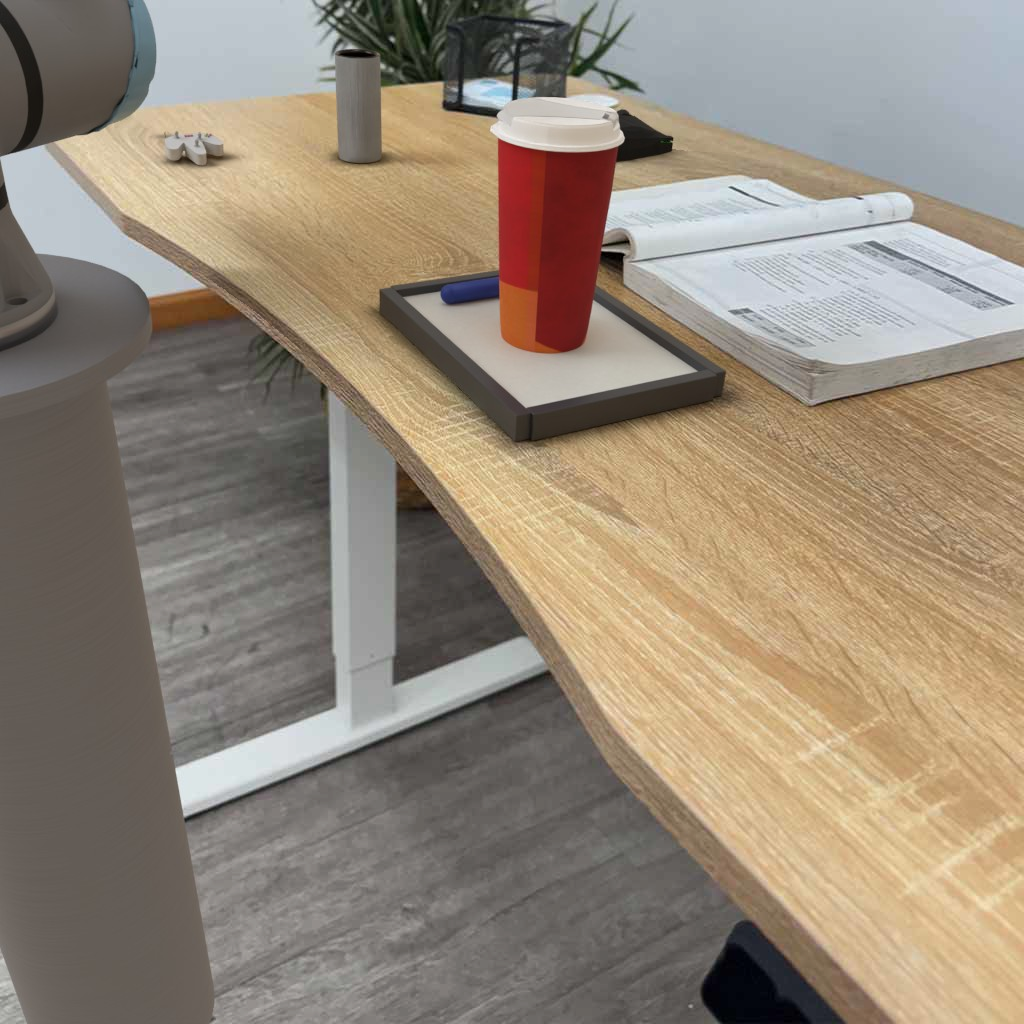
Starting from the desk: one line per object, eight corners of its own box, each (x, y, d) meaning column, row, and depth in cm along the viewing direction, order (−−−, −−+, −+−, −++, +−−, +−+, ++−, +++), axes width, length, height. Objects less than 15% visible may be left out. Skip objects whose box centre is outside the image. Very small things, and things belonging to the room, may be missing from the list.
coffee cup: (610, 320, 76) (635, 102, 68) (592, 368, 69) (616, 133, 61) (497, 304, 78) (508, 89, 69) (468, 350, 71) (476, 117, 62)
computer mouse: (508, 143, 120) (510, 106, 117) (614, 127, 128) (618, 92, 126) (574, 169, 112) (578, 130, 110) (682, 150, 121) (687, 113, 119)
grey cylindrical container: (348, 165, 109) (345, 58, 104) (331, 153, 112) (327, 49, 107) (388, 161, 111) (387, 56, 106) (371, 150, 114) (369, 47, 109)
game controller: (187, 169, 105) (183, 142, 104) (119, 146, 111) (115, 120, 110) (233, 159, 109) (230, 132, 108) (165, 137, 115) (162, 111, 113)
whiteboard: (377, 310, 79) (377, 276, 77) (558, 282, 85) (561, 250, 84) (517, 444, 63) (520, 405, 62) (725, 397, 70) (731, 361, 68)
